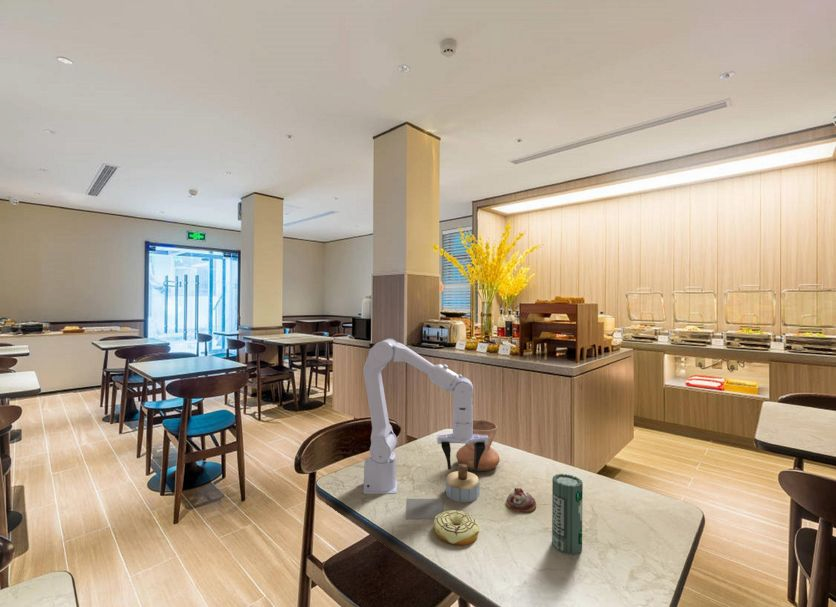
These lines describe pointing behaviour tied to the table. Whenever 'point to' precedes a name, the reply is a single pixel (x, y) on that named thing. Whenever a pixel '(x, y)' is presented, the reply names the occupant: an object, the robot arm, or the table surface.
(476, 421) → the ceramic jug
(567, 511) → the can
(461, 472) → the bamboo lid
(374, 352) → the robot arm
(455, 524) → the decorated donut
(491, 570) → the table surface
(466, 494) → the bowl
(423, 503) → the rubber mat
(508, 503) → the pastry
